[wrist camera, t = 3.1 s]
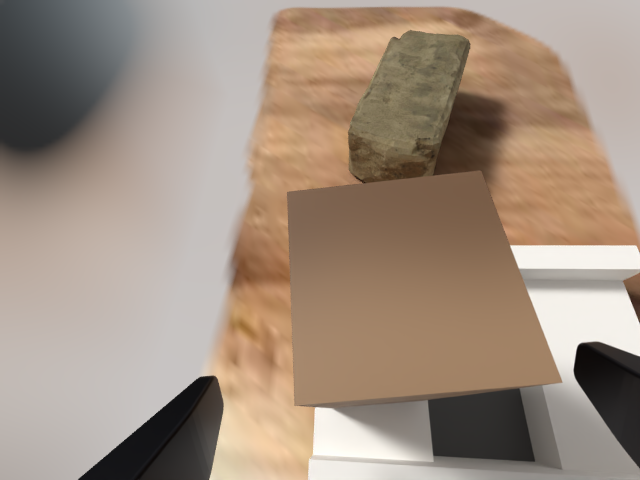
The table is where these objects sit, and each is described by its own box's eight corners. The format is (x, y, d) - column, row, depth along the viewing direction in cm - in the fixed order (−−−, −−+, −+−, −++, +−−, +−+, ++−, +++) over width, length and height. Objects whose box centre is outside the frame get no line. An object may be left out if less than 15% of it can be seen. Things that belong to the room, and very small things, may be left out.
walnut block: (421, 400, 15) (562, 382, 5) (331, 408, 15) (294, 406, 5) (404, 312, 16) (481, 170, 7) (324, 319, 17) (286, 191, 7)
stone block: (455, 92, 27) (476, 30, 23) (424, 204, 22) (442, 155, 18) (386, 80, 28) (393, 19, 24) (343, 184, 24) (342, 133, 19)
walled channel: (660, 500, 14) (762, 531, 11) (317, 478, 16) (307, 497, 12) (583, 276, 19) (636, 245, 15) (324, 273, 20) (319, 245, 17)
